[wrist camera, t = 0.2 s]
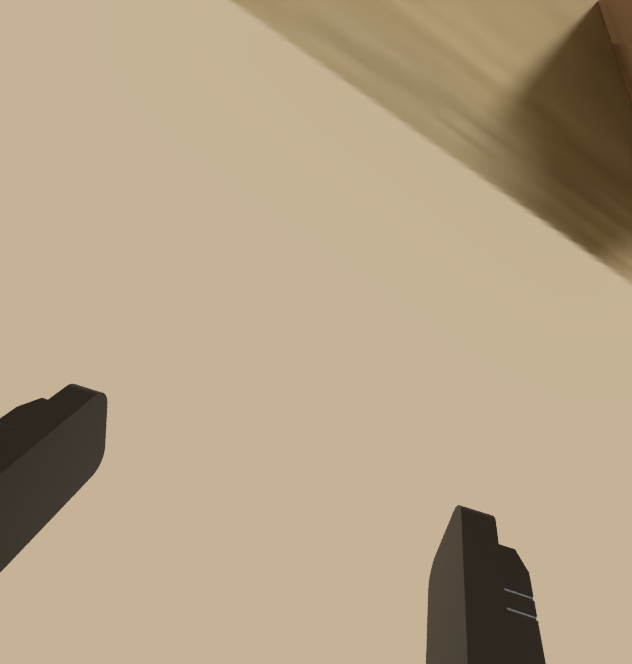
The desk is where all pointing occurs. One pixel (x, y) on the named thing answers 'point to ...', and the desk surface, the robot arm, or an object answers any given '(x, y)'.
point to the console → (620, 34)
